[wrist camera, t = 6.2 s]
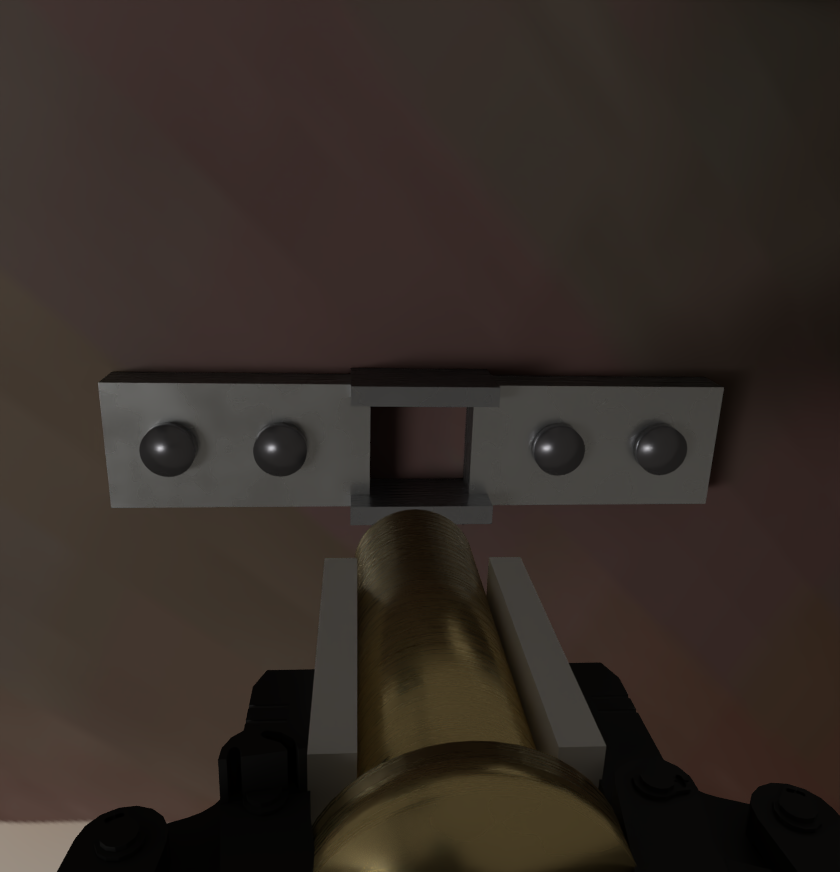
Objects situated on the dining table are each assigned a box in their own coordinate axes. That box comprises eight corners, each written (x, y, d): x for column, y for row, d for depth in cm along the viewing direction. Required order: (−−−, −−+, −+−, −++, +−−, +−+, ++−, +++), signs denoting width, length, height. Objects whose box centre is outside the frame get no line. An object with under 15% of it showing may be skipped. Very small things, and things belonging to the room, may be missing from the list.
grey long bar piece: (124, 496, 37) (101, 527, 34) (110, 365, 35) (85, 384, 32) (687, 493, 40) (718, 521, 36) (706, 371, 38) (740, 389, 34)
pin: (324, 480, 19) (286, 801, 9) (507, 481, 20) (674, 790, 9) (323, 642, 21) (290, 1084, 10) (495, 640, 21) (628, 1063, 11)
